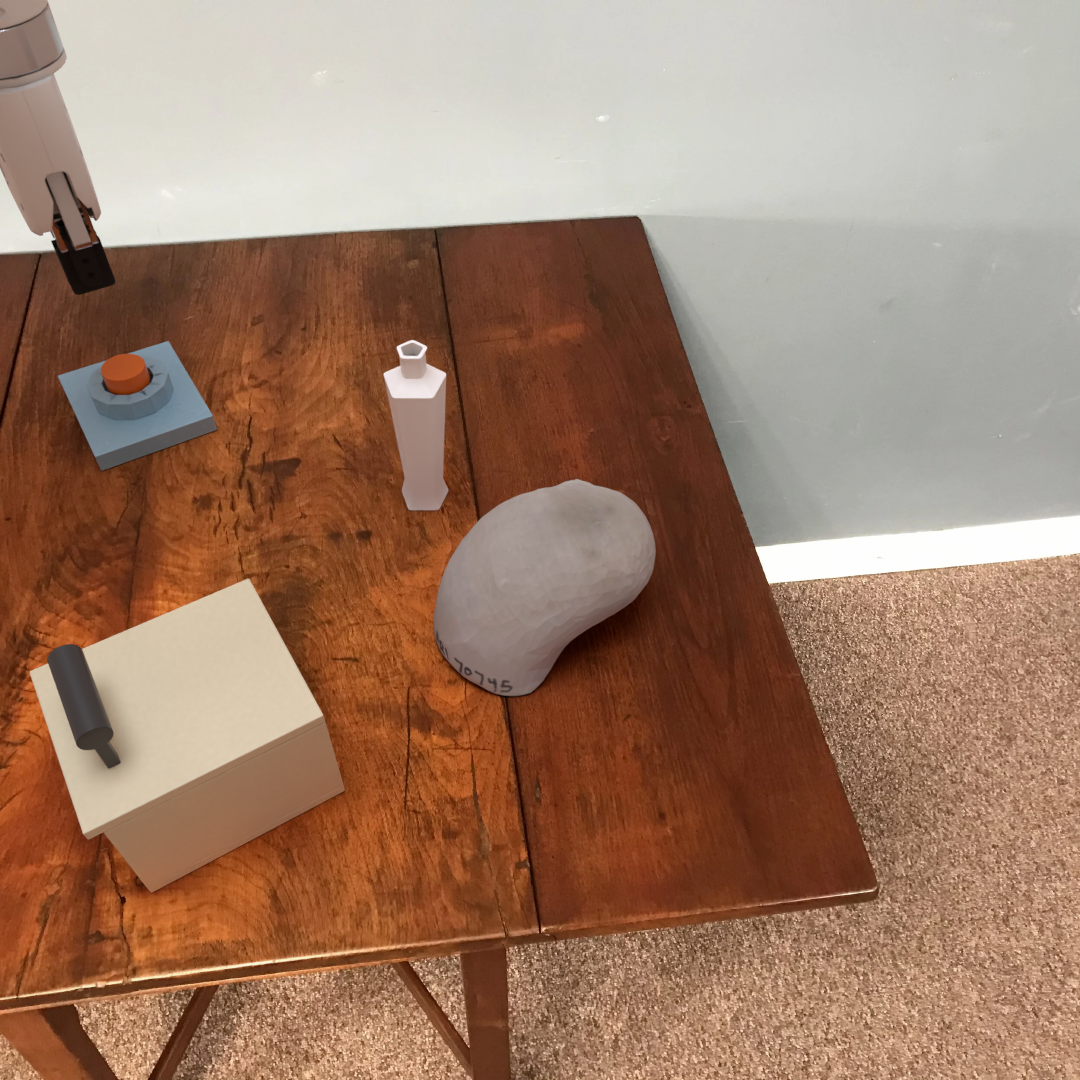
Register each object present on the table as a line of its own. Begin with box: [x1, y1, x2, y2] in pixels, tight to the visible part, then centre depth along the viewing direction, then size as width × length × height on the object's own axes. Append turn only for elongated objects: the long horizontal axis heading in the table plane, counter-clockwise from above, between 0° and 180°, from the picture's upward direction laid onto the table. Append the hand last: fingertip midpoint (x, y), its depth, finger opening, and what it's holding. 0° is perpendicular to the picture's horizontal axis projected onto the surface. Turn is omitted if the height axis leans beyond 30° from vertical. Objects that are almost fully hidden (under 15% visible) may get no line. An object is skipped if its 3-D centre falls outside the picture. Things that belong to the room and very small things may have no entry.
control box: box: [57, 340, 218, 472], centre depth 82 cm, size 10×12×4 cm
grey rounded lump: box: [433, 478, 657, 697], centre depth 68 cm, size 15×14×15 cm
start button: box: [101, 353, 150, 395], centre depth 80 cm, size 4×4×2 cm
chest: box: [102, 721, 346, 894], centre depth 58 cm, size 13×12×9 cm
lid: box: [29, 578, 326, 840], centre depth 53 cm, size 13×12×5 cm
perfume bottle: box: [383, 339, 449, 511], centre depth 72 cm, size 5×4×15 cm
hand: (93, 284), depth 74 cm, fingers closed
